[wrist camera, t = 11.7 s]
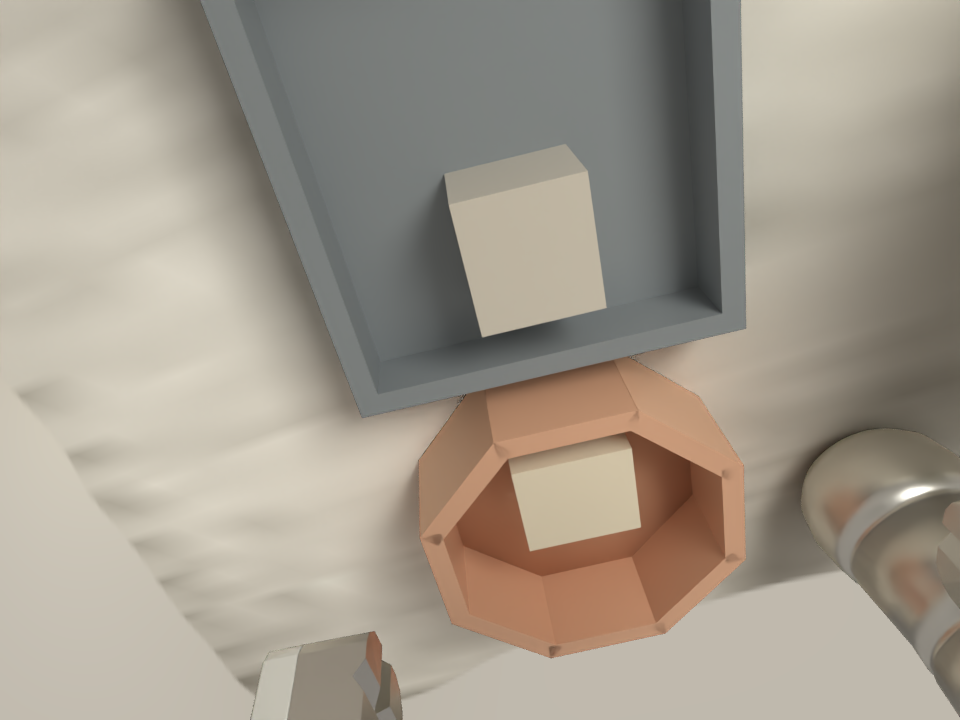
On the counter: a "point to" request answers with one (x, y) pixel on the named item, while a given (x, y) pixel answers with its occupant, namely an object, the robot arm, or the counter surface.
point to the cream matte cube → (527, 239)
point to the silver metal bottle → (892, 534)
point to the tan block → (576, 491)
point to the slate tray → (487, 138)
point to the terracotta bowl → (591, 562)
